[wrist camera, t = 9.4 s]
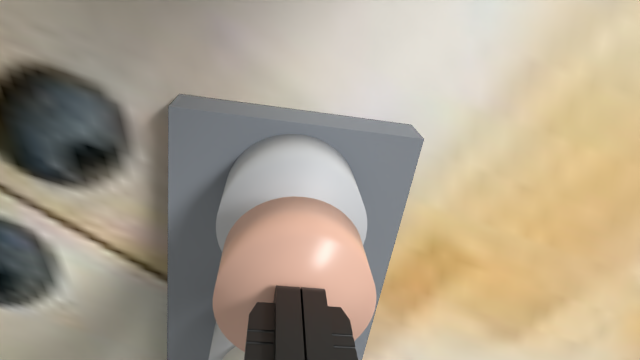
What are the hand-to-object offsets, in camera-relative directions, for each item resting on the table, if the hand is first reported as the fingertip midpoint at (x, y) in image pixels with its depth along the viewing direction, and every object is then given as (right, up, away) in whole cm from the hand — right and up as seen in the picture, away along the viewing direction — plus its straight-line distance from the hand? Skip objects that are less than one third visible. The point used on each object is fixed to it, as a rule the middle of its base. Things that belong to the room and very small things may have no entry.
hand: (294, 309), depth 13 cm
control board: (-2, -3, +12) cm, 12 cm away
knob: (0, +1, +2) cm, 2 cm away
